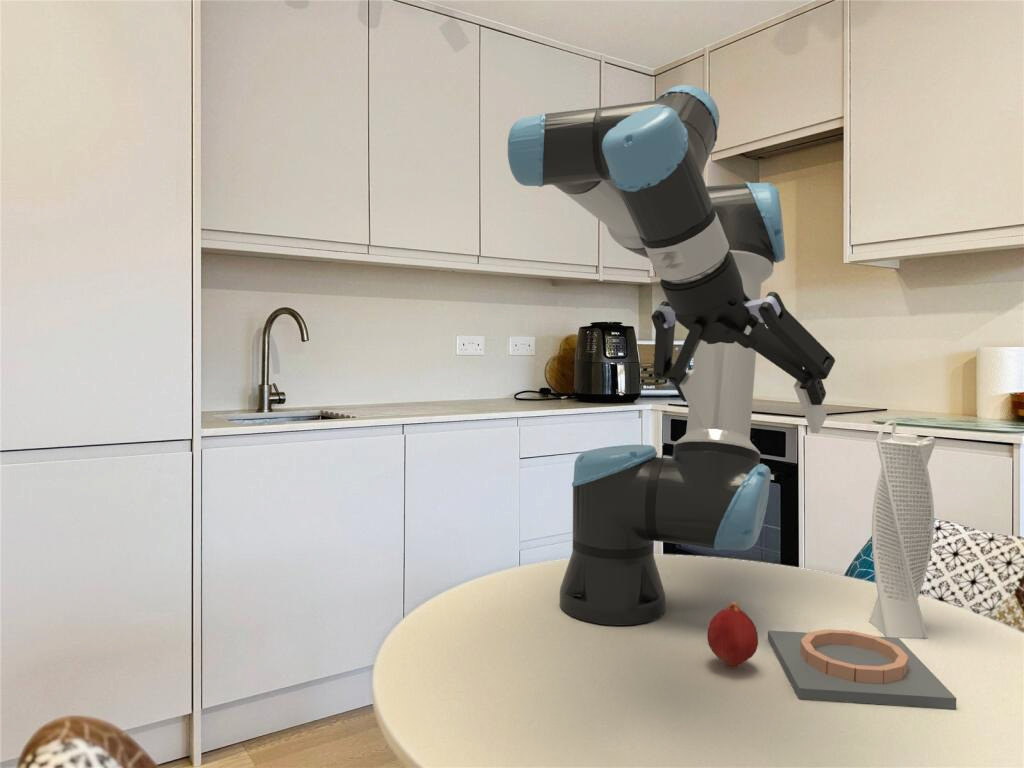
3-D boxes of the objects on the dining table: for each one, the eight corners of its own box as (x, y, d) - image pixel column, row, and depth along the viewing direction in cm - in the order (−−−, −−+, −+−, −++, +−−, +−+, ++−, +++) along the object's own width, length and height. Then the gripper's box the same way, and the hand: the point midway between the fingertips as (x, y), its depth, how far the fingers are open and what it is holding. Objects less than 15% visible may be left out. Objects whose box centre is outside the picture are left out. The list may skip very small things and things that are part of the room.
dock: (798, 698, 81) (799, 674, 81) (767, 639, 97) (768, 619, 97) (955, 709, 79) (957, 684, 79) (898, 646, 95) (898, 626, 95)
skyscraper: (856, 617, 105) (864, 418, 103) (910, 618, 105) (919, 419, 103) (881, 640, 97) (891, 426, 95) (940, 642, 97) (950, 426, 95)
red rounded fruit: (699, 657, 92) (701, 593, 91) (745, 656, 92) (747, 592, 92) (716, 679, 86) (718, 611, 85) (765, 677, 86) (767, 609, 86)
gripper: (579, 295, 82) (652, 438, 91) (802, 273, 64) (863, 452, 74) (612, 257, 86) (678, 397, 95) (831, 226, 68) (885, 402, 78)
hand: (759, 422), depth 84 cm, fingers open, 13 cm apart
